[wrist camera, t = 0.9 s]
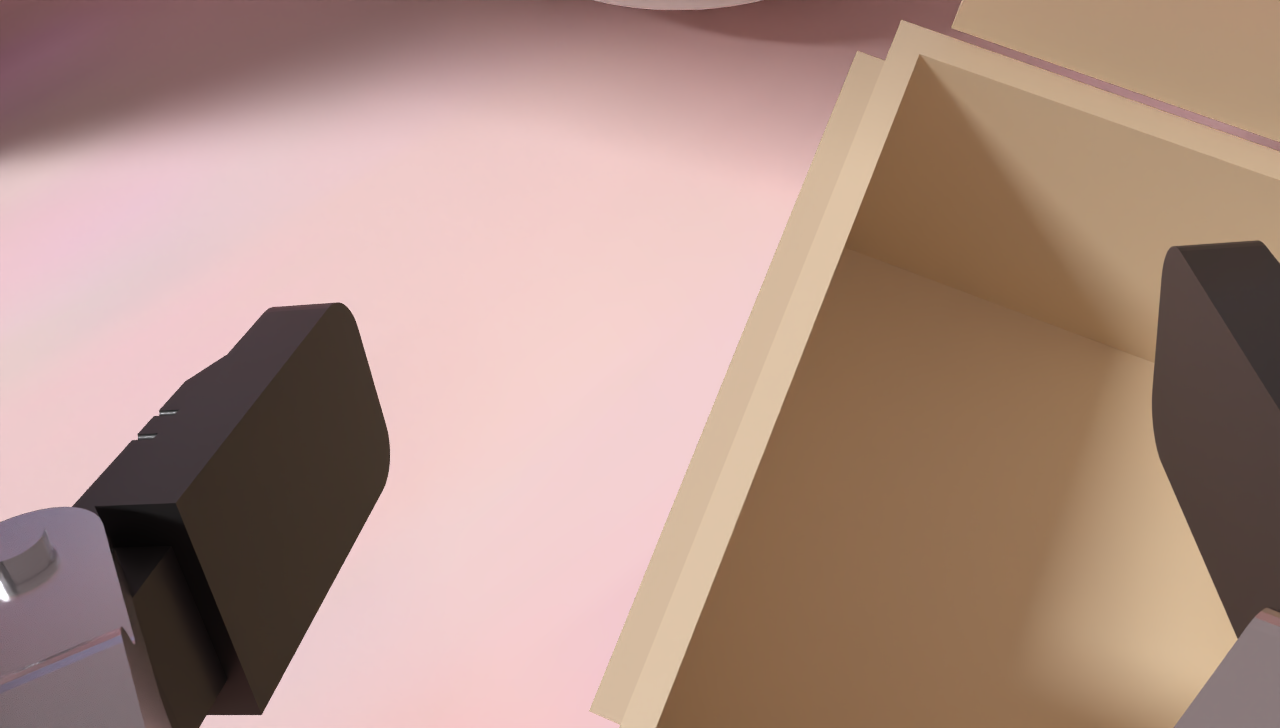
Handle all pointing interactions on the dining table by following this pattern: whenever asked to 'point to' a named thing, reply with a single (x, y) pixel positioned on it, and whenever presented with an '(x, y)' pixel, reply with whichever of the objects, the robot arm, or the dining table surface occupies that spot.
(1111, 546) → the carton
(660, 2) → the serving bowl
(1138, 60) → the carton flap
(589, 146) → the dining table surface
